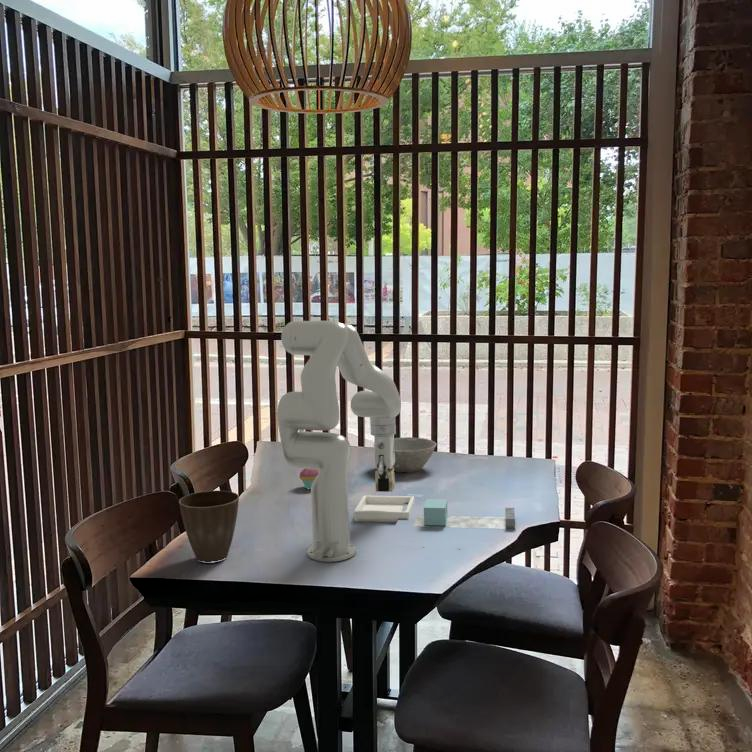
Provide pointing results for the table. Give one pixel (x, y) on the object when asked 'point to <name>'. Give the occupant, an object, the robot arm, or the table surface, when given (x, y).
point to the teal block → (435, 512)
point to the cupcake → (308, 477)
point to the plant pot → (210, 522)
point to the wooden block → (391, 479)
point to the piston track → (474, 521)
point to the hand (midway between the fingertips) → (385, 487)
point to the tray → (383, 508)
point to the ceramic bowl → (412, 453)
